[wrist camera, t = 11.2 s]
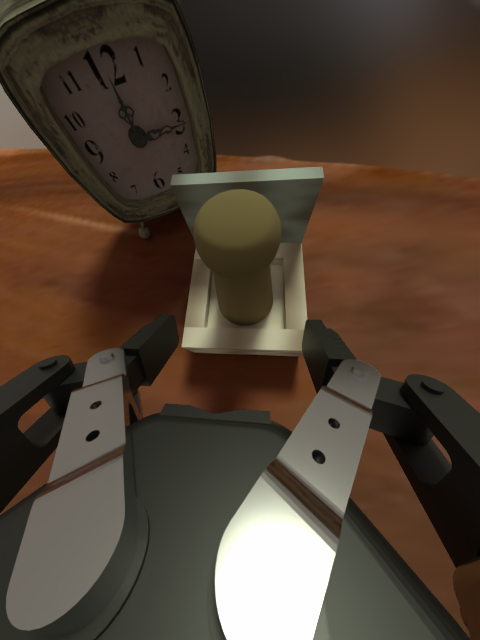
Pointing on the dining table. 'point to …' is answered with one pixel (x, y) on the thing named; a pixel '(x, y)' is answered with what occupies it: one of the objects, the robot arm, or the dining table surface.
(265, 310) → the cork
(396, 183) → the dining table surface
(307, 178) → the stand
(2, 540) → the robot arm
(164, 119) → the tabletop clock
